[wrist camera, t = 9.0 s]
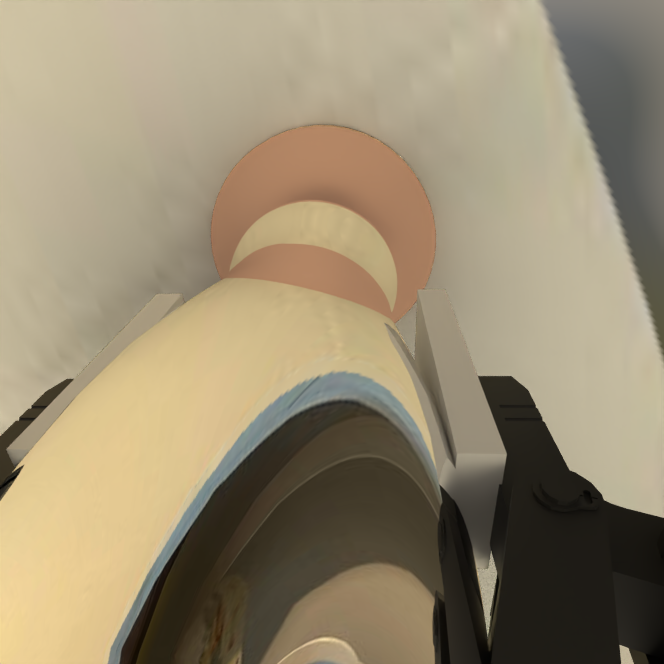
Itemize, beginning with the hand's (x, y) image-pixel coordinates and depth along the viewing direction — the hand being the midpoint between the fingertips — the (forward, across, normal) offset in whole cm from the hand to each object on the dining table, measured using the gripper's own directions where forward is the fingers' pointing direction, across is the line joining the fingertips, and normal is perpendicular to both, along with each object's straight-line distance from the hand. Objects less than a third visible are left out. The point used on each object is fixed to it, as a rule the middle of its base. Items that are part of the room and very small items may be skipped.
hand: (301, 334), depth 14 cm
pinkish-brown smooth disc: (+9, 0, 0) cm, 9 cm away
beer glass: (+4, 0, 0) cm, 4 cm away
